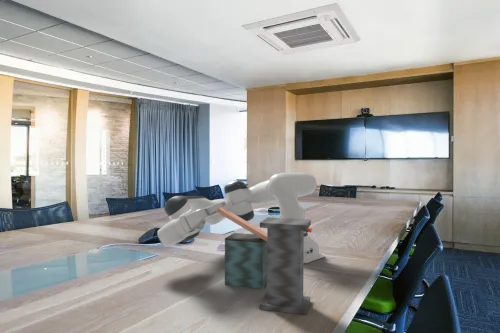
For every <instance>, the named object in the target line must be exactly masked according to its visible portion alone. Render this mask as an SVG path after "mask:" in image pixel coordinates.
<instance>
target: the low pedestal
mask: <svg viewBox="0 0 500 333" xmlns="http://www.w3.org/2000/svg"><path fill="white" fill-rule="evenodd" d="M224 243H225V251H224V286H233V287H241V286H243V287H244V288H250V287H251V288H250V289H252V288H253V289H259V288H260V289H259V290H263V289H264V288H265V287H266V286H267V242H266V241H265V240H263V239H261V238H260V237H258V236H256V235H254V234H253V233H243V232H242V233H239V232H233V233H232V234H230V235H228V236H227V237H225V238H224Z"/></svg>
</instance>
